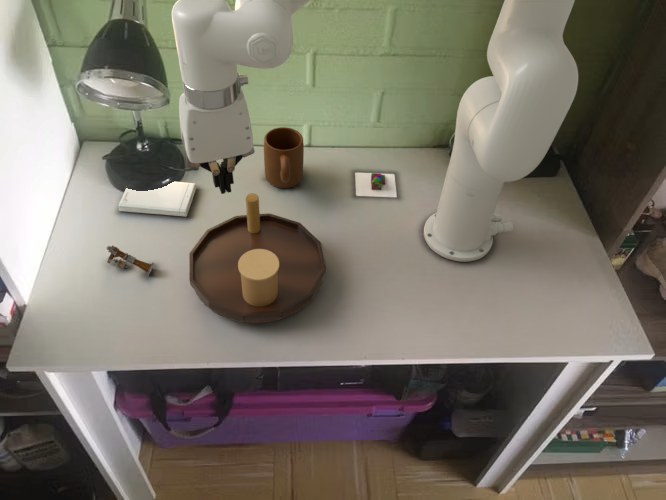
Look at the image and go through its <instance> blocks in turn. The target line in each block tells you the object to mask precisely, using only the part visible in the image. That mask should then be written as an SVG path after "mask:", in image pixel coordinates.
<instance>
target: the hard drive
mask: <svg viewBox="0 0 666 500" xmlns="http://www.w3.org/2000/svg"><path fill="white" fill-rule="evenodd" d="M173 181H174V180H173ZM196 191H197V184H196V183H195V182H186V181H185V182H184V181H174V182H172V183H170V184H168V185H167V186H164V187H162V188H158V189H154V190H148V191H136V190H132V189H128V188H125V190H124V191H123V193H122V196H121V198H120V201H119V202H118V206H117V207H118V210H119V212H128V213H139V214H152V215H161V216H174V217H188V214H189V212H190V208H191V204H192V203H193V199H194V197H195V194H196Z"/></svg>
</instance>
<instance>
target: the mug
mask: <svg viewBox="0 0 666 500" xmlns="http://www.w3.org/2000/svg"><path fill="white" fill-rule="evenodd" d="M304 147H305V146H304V137H303V135H302V133H301V132H299V131H298V130H297V129H294V128H291V127H286V126H285V127H284V126H281V127H276V128H273V129H269V131H268V132H266V134H265V135H264V138H263V165H264V176H265V179H266V181H267V182H268V183H269V184H270V185H271V186H273V187H276V188H279V189H288V188H293V187H295V186H296V185H298V184H300V182H301V181H302V179H303V176H304V158H305V157H304V156H305V151H304V150H305V148H304Z"/></svg>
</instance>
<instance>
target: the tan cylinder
mask: <svg viewBox="0 0 666 500" xmlns="http://www.w3.org/2000/svg"><path fill="white" fill-rule="evenodd" d="M238 269H239V272H240V273H241V282H242V293H243V298H244V299H245V301H246V302H247V303H249V304H250V305H253V306H257V307H262V306H267V305H269V304H271V303H272V302H274V300H275V299H276V298H277V295H278V273H277V272H278V269H279V260H278V258H277V256H276V255H275V254H274V253H272V252H271V251H268V250H265V249H254V250H250V251H248V252H246V253H245V254H243V255H242V256H241V258H240V259H239V262H238Z"/></svg>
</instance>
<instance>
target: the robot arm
mask: <svg viewBox="0 0 666 500" xmlns="http://www.w3.org/2000/svg"><path fill="white" fill-rule="evenodd" d="M310 1H311V0H235V5H234V9H232V8H231V6H230V5H229V3H228V1H226V0H177V1H175V3H174V5H173V6H172V9H171V22H172V28H173V34H174V39H175V45H176V52H177V58H178V63H179V69H180V75H181V81H182V87H183V93H181V95H180V96H179V101H178V115H179V116H178V117H179V127H180V128H179V129H180V136H181V142H182V146H183V149H184V150H185V154H184V163H185V166H186V167H187V168H202V169H204V170H205V171H208V172H210V173H211V175H212V182H213V185H214V188H215V189H216V188H218V189H219V192H220V194H221V195H223V194H226V193H232V186H231V185H234V184H235V181H234V172H235V170H236V166H237V165H238V164H239V163H240V162H241V160H242V159H243V158H246V157H249V156H252V155H254V154H255V152H256V150H255V148H254V136H253V129H252V124H251V118H250V113H249V108H248V103H247V101H246V97H245V94H244V91H243V89H242V87H243V86H244V85H249V78H248V75H247V74H241V73H240V74H239V72H238V66H237V65H240V66H244V67H248V68H255V69H262V70H264V69H265V70H266V69H267V70H268V69H274V68H277V67H279V66H281V65H284V63H285V62H286V61H287V60H288V59H289V58H290V56H291V54H292V51H293V47H294V46H293V45H294V35H293V34H294V33H293V22H292V21H293V20H292V15H294V14H295V13H296V12H297V11H299V10H300V9H301V8H303V7H304V6H305V5H306V4H308V3H309V2H310ZM575 1H576V0H504V1H503V3H502V6H501V8H500V11H499V15H498V18H497V20H496V23H495V26H494V28H493V31H492V34H491V36H490V39H489V42H488V46H487V49H486V50H487V51H486V59H487V60H486V61H487V64H488V66H489V69H490V71H491V73H492V75H491V76H489V75H488V76H485V77H482V78H479V79H478V80H475V81H474V82H473V83H472V84H471V85H470V86H469V87H467V89H466V90H465V91H464V93H463V95H462V96H461V99H460V101H459V105H458V107H457V112H456V120H455V131H454V140H453V145H452V149H451V150H452V151H451V155H450V159H449V163H448V165H447V169H446V173H445V178H444V182H443V186H442V189H441V193H440V198H439V202H438V206H437V209H436V212H434V213H432V214H431V215H430V216H429V217H428V218H427V220H426V221H425V224H424V227H423V238H424V240H425V242H426V244H427V246H428V247H429V248H430V249H431V250H432V251H433V252H435V253H436V254H437V255H439V256H441V257H443V258H445V259H447V260H450V261H454V262H464V263H467V262H473V261H474V262H475V261H477V260H480V259H482V258H484V257H485V256H486V255H487V254H488V253H489V252H490V250H491V248H492V245H493V242H494V236H496V235H497V234H500V233H501V234H506V233H508V234H509V233H513V231H514V224H513V221H505V222H503V221H502V219H503V218H502V215H501V214H499V213H498V214H494V213H495V210H496V208H497V204H498V202H499V199H500V196H501V193H502V190H503V188H504V185H505V183H511V182H515V181H518V180H521V179H523V178H525V177H527V176H528V175H530V174H531V173H532V172H534V171H535V170H536V168H537V167H539V165H540V164H541V162H542V161H543V160H544V158H545V157H546V155H547V153H548V151H549V150H550V147H551V146H552V144H553V142H554V140H555V138H556V136H557V134H558V132H559V131H560V128H561V126H562V125H563V122H564V120H565V118H566V117H567V114H568V112H569V110H570V108H571V106H572V103H573V102H574V100H575V97H576V94H577V91H578V86H579V70H578V65H577V62H576V59H574V56H573V55H572V53H571V52H570V50H569V48H568V47H567V45H566V44H565V42H564V37H563V36H564V32H565V27H566V25H567V22H568V19H569V17H570V15H571V12H572V9H573V7H574V4H575ZM218 160H222V161H221V162H220V164H219V162H217V161H218Z"/></svg>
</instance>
